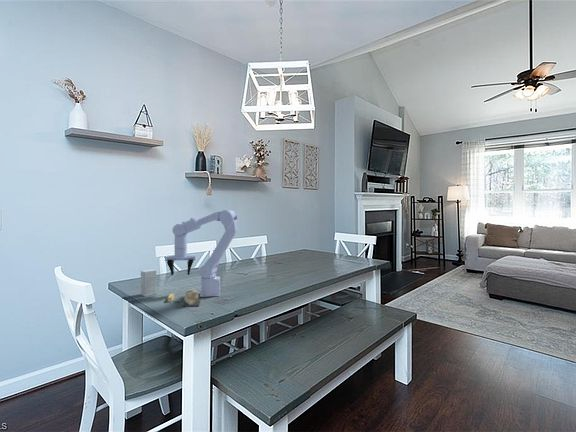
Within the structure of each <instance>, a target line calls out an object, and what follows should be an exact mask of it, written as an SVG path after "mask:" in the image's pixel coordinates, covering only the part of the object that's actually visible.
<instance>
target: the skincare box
mask: <svg viewBox="0 0 576 432" xmlns="http://www.w3.org/2000/svg"><path fill="white" fill-rule="evenodd" d="M157 282H158V281H157V269H154V268H150V269H146V270H145V269H144V270H141V271H140V295H141V296H143V297H148V296H152V295H157V294H158V292H157V290H158V289H157Z"/></svg>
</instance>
